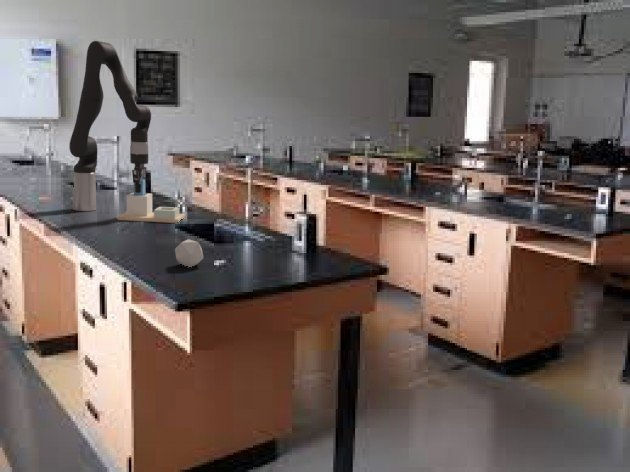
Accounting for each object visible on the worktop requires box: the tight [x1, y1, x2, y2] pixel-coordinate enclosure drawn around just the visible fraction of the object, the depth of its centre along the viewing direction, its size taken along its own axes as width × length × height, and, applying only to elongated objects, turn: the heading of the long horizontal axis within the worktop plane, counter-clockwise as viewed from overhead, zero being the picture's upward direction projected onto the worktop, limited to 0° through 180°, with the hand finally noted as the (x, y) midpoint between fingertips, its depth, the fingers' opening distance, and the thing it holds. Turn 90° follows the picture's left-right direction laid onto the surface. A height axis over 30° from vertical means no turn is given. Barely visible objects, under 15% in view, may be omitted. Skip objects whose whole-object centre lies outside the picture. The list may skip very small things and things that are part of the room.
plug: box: [133, 179, 146, 196], centre depth 279 cm, size 4×4×10 cm
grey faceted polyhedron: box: [174, 238, 204, 268], centre depth 204 cm, size 8×9×10 cm
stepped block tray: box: [117, 192, 186, 224], centre depth 278 cm, size 26×14×10 cm, turn 89°
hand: (139, 191), depth 279 cm, fingers open, 4 cm apart
